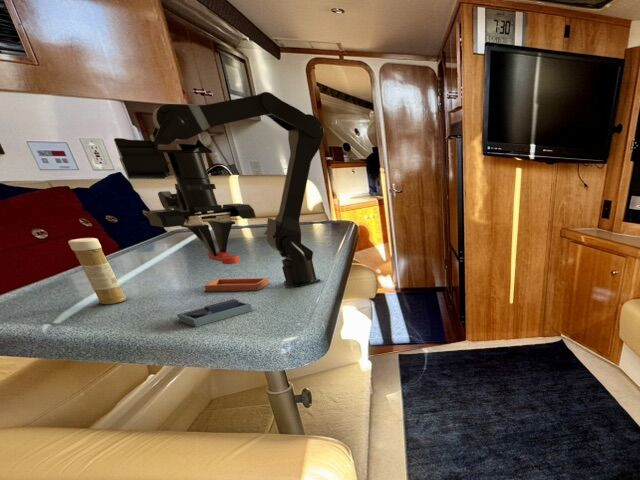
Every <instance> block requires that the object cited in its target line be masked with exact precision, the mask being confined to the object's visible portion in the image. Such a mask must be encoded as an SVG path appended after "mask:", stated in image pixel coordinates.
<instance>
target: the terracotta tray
mask: <svg viewBox="0 0 640 480" xmlns="http://www.w3.org/2000/svg"><path fill="white" fill-rule="evenodd" d="M269 284H270V282H269V279H268V277H252V278H251V277H246V278H245V277H244V278H216V279H214V280H212V281H211V282H209V283H207V284H205V285H203V287H204V289H205V292H230V291H231V292H232V291H233V292H234V291H235V292H236V291H260V290H261V289H262V288H264V287H266V286H267V285H269Z"/></svg>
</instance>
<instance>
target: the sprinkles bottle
mask: <svg viewBox="0 0 640 480" xmlns="http://www.w3.org/2000/svg"><path fill="white" fill-rule="evenodd" d="M67 243H68V245H69V247H70V249H71V251H73V253H74V254H75V256H76V259H77V260H78V262H79V264H80V265H81V268H82V270H83V272H84V274H85V276H86V278H87V280H88V282H89V284H90V287H91V288H92V290H93V291H94V293H95V295H96V297H97V298H98V302H99V303H100V304H102V305H112V304H117V303H118V304H119V303H122V302H125V301H126V300H127V297H126V296H125V295H124V292H123V290H122V289H121V287H120V286H121V285H120V283H119V281H118V279H117V277H116V275H115V273H114V271H113V268H112V266H111V265H110V262H109V261H108V259H107V257H106V256H105V253H104V251H103V248H102V245H101V243H100V241H99V239H98V238H95V237H83V238H82V237H81V238H75V239H70V240H68V242H67Z"/></svg>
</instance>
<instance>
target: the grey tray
mask: <svg viewBox="0 0 640 480" xmlns="http://www.w3.org/2000/svg"><path fill="white" fill-rule="evenodd" d="M238 301H239V304H240V306H239V307H235V308H232V309H228V310H225V311H221V312H217V313H214V314H210V315H206V316H203V317H199V318H195V319H194V318H191V316H190V313H191V312H193V311H196V310H201V309H205V308H204V307H205V306H203V307H199V308H196V309H193V310H188V311H185V312H180V313H177V314H176V315H177V318H178V321H179V322H181V323H185V324H187V325H189V326H193V327H196V328H197V327H199V326H203V325H207V324H210V323H214V322H217V321H221V320H225V319H228V318H231V317H235V316H238V315H242V314H245V313H248V312H251V311H254V310H253V307H252V304H251V303H248V302H245V301H241V300H238Z"/></svg>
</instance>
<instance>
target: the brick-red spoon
mask: <svg viewBox="0 0 640 480" xmlns="http://www.w3.org/2000/svg"><path fill="white" fill-rule="evenodd" d="M206 253H207V256H208V259H209V260H211V261H217V262H220V263H222V265H235V264H239V263H241V258H240V256H239V255H235V254H233V255H230V252H227V251H226V252H221V251H220V250H216V257H214V256H212V255H211V254H210V252H209V251H208V250H207V251H206Z"/></svg>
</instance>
